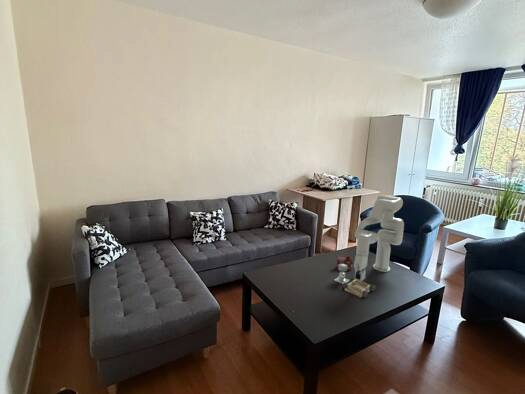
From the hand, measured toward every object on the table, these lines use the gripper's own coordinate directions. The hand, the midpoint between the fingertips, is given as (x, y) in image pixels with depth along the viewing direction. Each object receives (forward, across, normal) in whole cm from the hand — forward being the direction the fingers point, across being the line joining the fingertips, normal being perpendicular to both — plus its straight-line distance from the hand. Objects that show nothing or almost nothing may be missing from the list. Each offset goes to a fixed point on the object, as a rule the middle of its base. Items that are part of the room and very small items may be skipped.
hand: (359, 277), depth 185 cm
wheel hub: (+1, -2, -14) cm, 14 cm away
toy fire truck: (+9, -21, -23) cm, 33 cm away
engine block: (+1, 0, 0) cm, 1 cm away
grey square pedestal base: (+9, -2, -14) cm, 17 cm away
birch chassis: (+9, 0, 0) cm, 9 cm away
